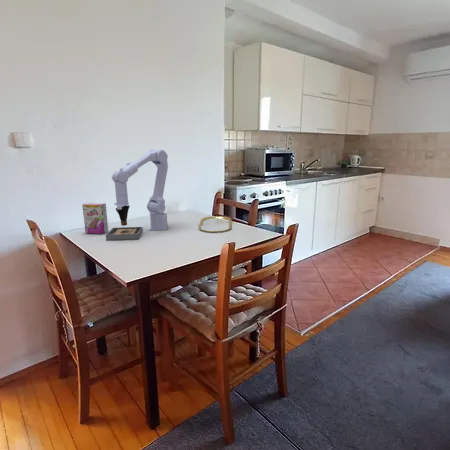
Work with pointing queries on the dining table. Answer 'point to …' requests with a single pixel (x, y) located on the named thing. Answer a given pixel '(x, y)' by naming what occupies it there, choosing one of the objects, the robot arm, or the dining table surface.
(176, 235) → the dining table surface
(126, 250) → the dining table surface
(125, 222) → the walnut peg
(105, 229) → the candy bar box
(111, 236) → the charcoal tray
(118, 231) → the oak hole plate
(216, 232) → the gold wire ring
